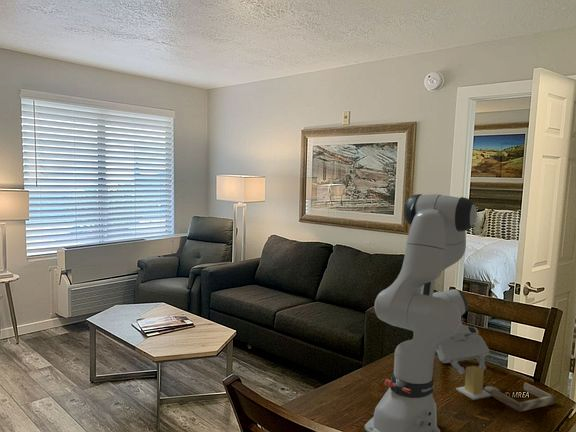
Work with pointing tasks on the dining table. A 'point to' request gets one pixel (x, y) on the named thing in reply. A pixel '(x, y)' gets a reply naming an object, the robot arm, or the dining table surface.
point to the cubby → (526, 405)
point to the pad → (475, 396)
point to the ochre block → (474, 380)
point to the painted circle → (490, 389)
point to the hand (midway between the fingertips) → (473, 371)
